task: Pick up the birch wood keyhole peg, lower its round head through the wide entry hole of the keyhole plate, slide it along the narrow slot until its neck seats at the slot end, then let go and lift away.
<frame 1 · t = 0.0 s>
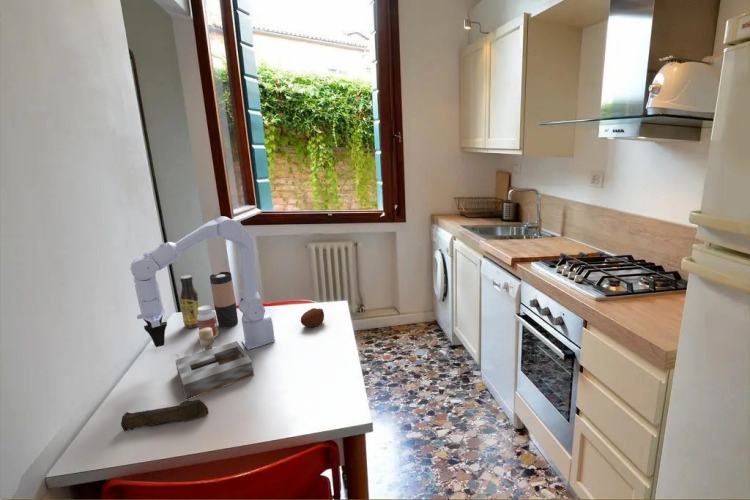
hand: (158, 340, 113), 10 cm above the table, tool pointing down, fingers open, 7 cm apart
keyhole peg: (209, 355, 123), on the table
travel mug: (228, 324, 146), on the table
hand tool: (168, 421, 93), on the table
potato: (313, 326, 141), on the table
sauce bottle: (194, 325, 146), on the table
keyhole plate: (215, 374, 112), on the table
pill bottle: (209, 336, 137), on the table
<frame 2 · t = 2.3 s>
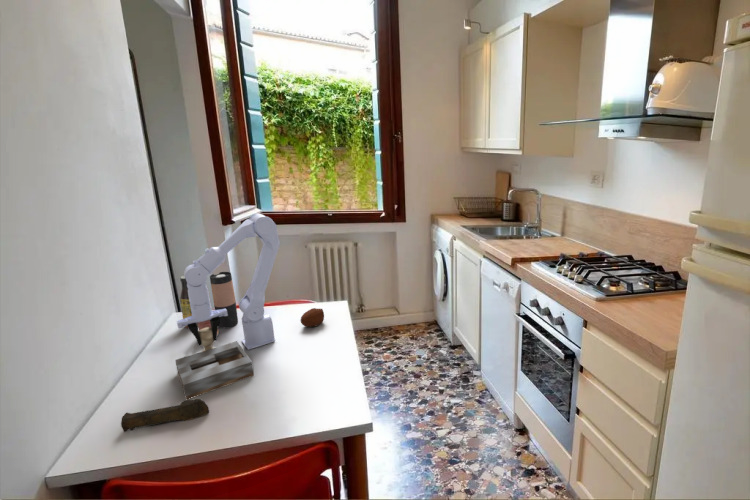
hand: (207, 341, 122), 5 cm above the table, tool pointing down, fingers closed on keyhole peg, 4 cm apart
keyhole peg: (209, 355, 123), on the table, touching gripper
everything else where it was.
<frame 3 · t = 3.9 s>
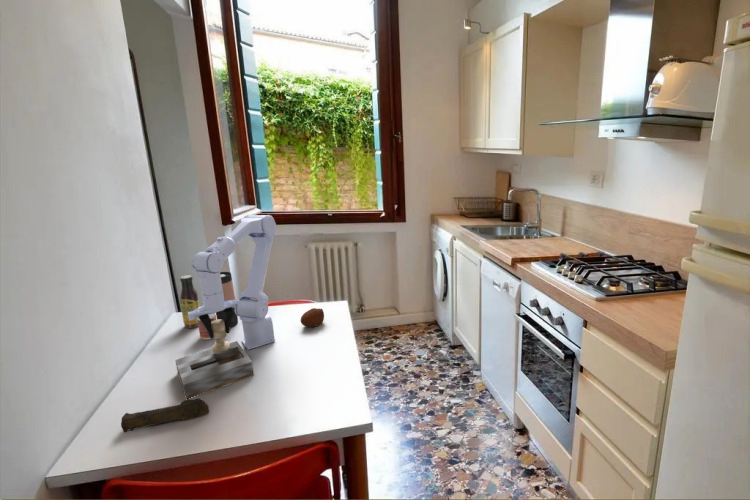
hand: (219, 334, 114), 10 cm above the table, tool pointing down, fingers closed on keyhole peg, 4 cm apart
keyhole peg: (221, 349, 115), point 5 cm above the table, touching gripper
everything else where it was.
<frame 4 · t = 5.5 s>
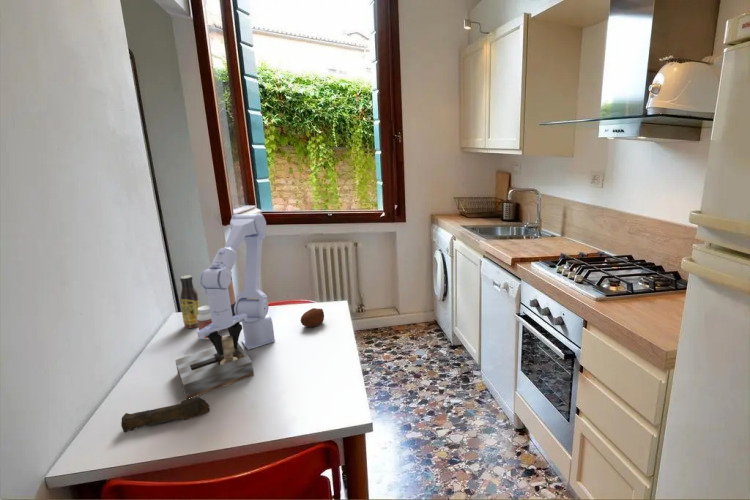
hand: (227, 350, 113), 6 cm above the table, tool pointing down, fingers closed on keyhole peg, 4 cm apart
keyhole peg: (229, 365, 114), point 1 cm above the table, touching gripper
everything else where it was.
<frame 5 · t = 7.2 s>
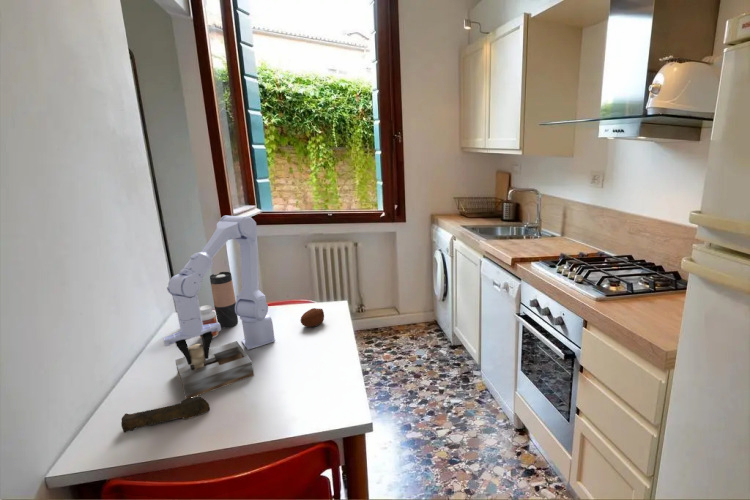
hand: (198, 360, 108), 6 cm above the table, tool pointing down, fingers closed on keyhole peg, 4 cm apart
keyhole peg: (200, 375, 110), point 1 cm above the table, touching gripper
everything else where it was.
when the fingers open (6 cm above the table, at t = 8.7 s): keyhole peg stays where it is, resting on keyhole plate.
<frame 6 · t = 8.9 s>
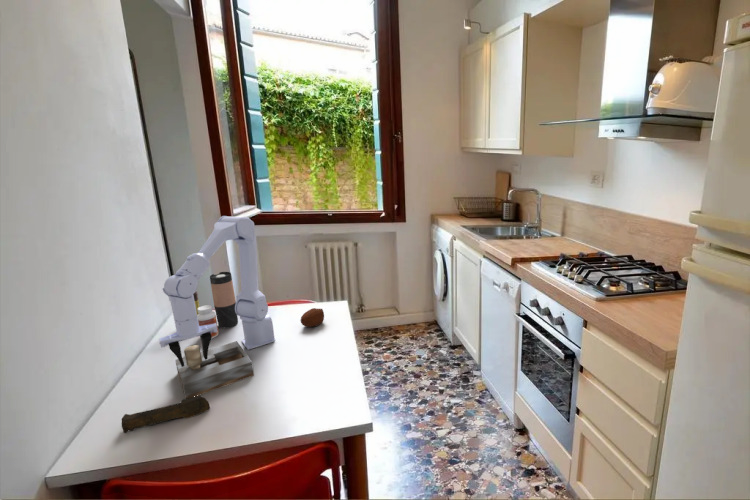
hand: (194, 361, 108), 6 cm above the table, tool pointing down, fingers open, 5 cm apart
keyhole peg: (197, 376, 109), point 1 cm above the table, touching keyhole plate
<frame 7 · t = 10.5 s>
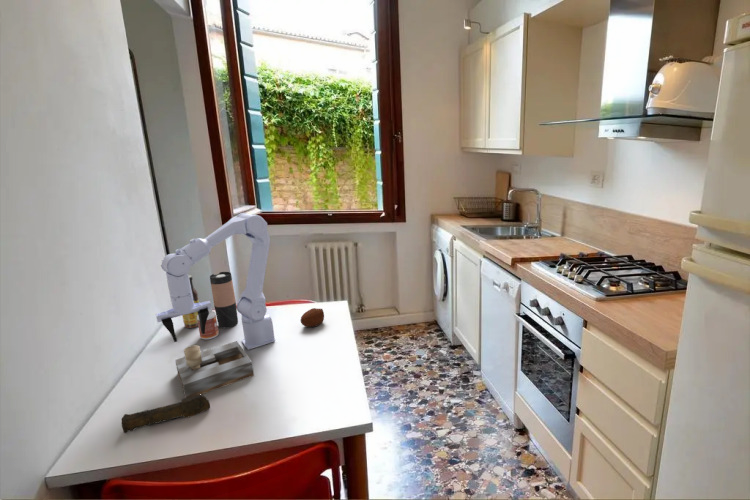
hand: (189, 336, 114), 10 cm above the table, tool pointing down, fingers open, 7 cm apart
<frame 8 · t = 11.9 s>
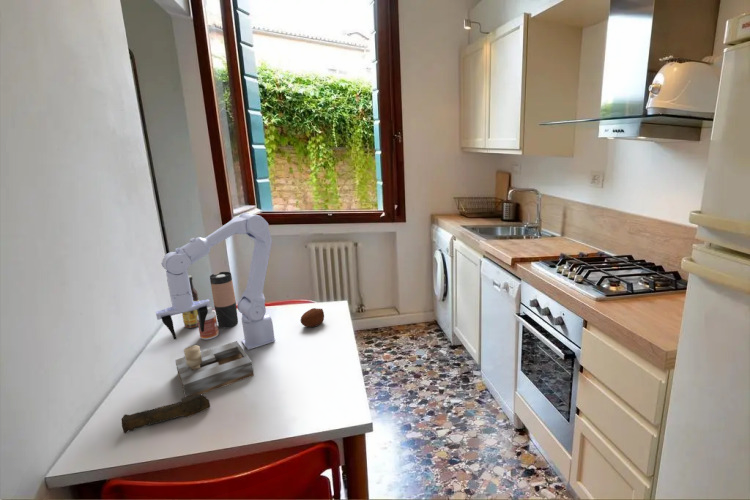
hand: (188, 334, 115), 10 cm above the table, tool pointing down, fingers open, 7 cm apart
at the end: keyhole peg 0.2 cm from the target spot on the keyhole plate, point 1.0 cm above the keyhole plate's base; keyhole peg tilted 0°; the gripper is holding nothing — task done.
